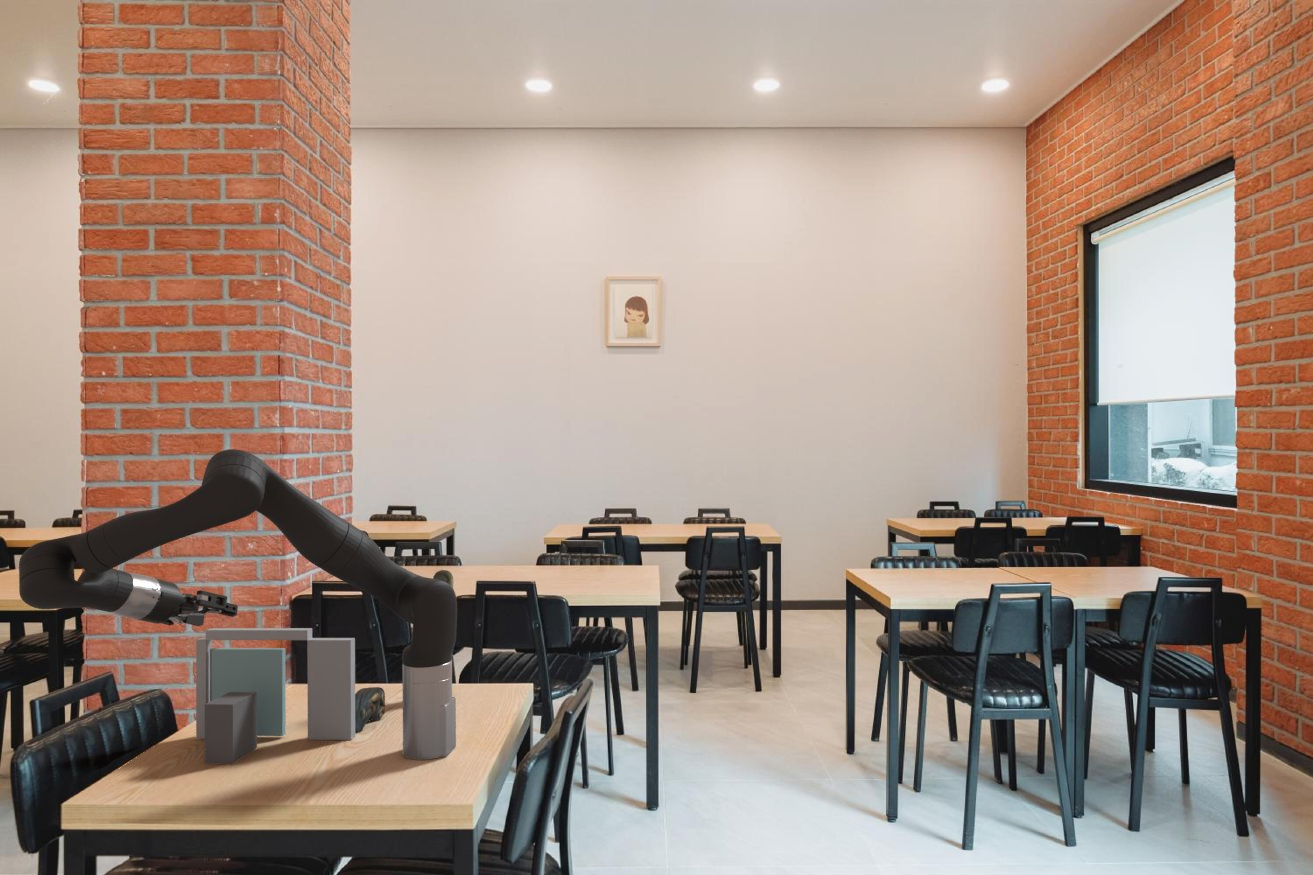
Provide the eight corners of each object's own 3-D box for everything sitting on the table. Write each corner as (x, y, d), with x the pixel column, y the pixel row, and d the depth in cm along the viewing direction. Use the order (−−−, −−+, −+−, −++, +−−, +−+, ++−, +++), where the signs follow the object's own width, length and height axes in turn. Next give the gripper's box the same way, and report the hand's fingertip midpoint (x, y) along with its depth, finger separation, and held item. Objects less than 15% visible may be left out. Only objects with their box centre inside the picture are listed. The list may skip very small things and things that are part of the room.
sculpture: (372, 732, 167) (372, 698, 167) (340, 733, 166) (340, 699, 167) (387, 713, 180) (387, 681, 180) (357, 714, 179) (357, 683, 180)
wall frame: (355, 736, 164) (354, 628, 165) (350, 739, 162) (350, 630, 163) (202, 734, 167) (202, 628, 167) (196, 738, 165) (196, 630, 165)
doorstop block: (256, 748, 159) (256, 691, 159) (232, 763, 151) (232, 704, 151) (230, 747, 159) (229, 691, 159) (204, 763, 151) (204, 704, 151)
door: (288, 731, 166) (288, 646, 167) (282, 735, 164) (282, 649, 164) (215, 731, 167) (215, 646, 168) (208, 735, 165) (208, 649, 165)
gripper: (109, 627, 142) (189, 642, 156) (168, 609, 138) (245, 627, 152) (117, 586, 146) (194, 605, 160) (175, 568, 142) (249, 589, 155)
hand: (219, 615), depth 156 cm, fingers open, 8 cm apart
